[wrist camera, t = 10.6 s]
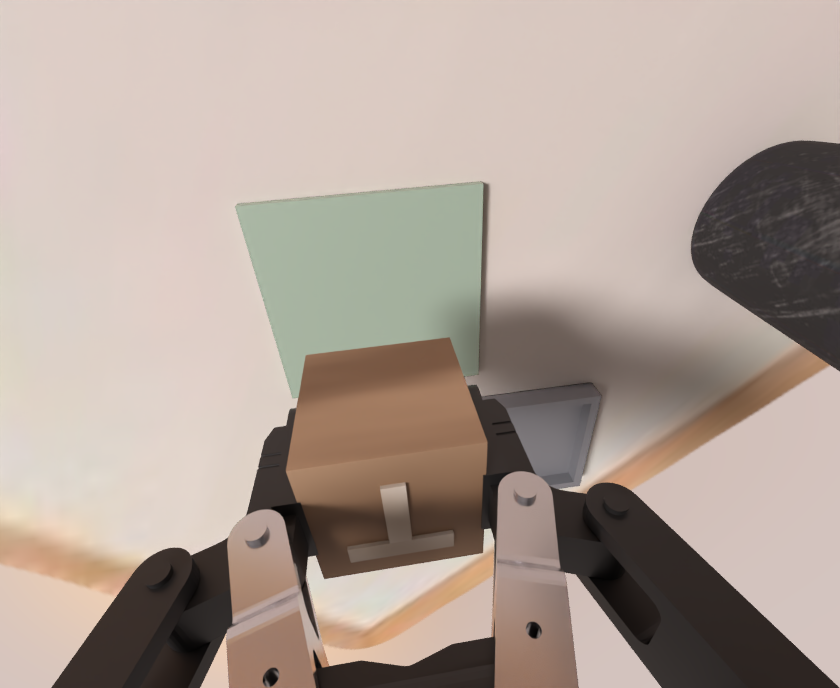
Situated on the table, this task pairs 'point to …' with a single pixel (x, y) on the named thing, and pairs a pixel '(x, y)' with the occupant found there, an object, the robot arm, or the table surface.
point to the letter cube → (388, 457)
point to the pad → (369, 270)
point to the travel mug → (779, 242)
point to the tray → (554, 429)
